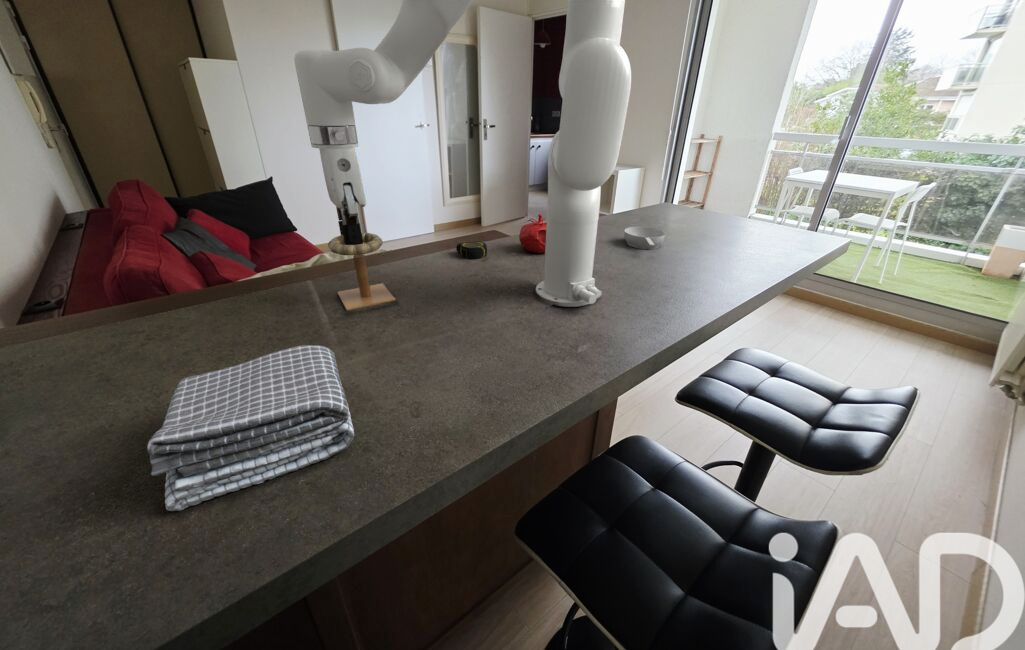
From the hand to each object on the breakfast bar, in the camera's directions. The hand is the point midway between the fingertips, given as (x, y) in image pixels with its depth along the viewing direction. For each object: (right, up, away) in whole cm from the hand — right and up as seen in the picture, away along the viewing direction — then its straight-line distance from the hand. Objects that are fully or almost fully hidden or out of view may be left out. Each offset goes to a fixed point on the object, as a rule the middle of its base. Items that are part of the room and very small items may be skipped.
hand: (352, 242), depth 79 cm
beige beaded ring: (+2, -1, -3) cm, 4 cm away
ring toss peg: (+2, -11, +2) cm, 11 cm away
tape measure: (+20, +1, +25) cm, 32 cm away
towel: (+2, -29, -30) cm, 42 cm away
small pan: (+66, +5, +33) cm, 74 cm away
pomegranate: (+37, +4, +31) cm, 49 cm away
